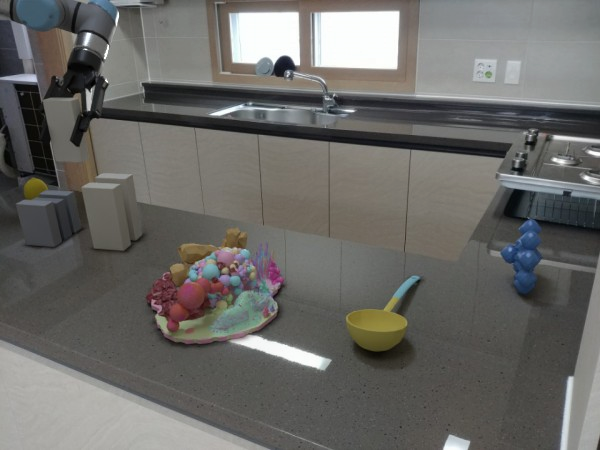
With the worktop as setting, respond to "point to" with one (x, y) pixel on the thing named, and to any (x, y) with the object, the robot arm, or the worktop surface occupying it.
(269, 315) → the candy landscape model
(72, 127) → the cream tall block
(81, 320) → the worktop surface
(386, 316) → the ladle
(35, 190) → the lemon
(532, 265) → the grapes
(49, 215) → the grey books
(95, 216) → the cream book row
